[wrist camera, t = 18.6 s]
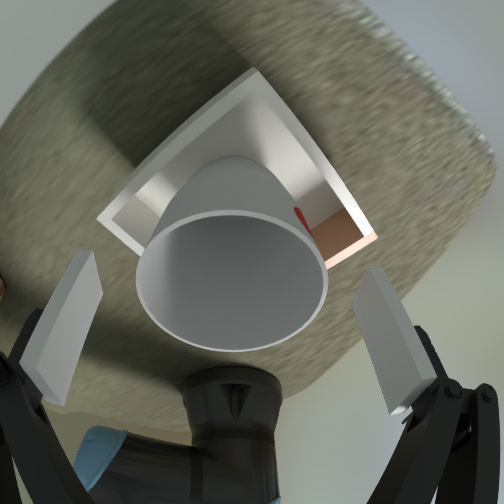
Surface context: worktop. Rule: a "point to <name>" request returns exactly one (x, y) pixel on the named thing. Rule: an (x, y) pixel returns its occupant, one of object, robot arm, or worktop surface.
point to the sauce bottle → (1, 288)
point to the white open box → (248, 146)
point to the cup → (232, 261)
